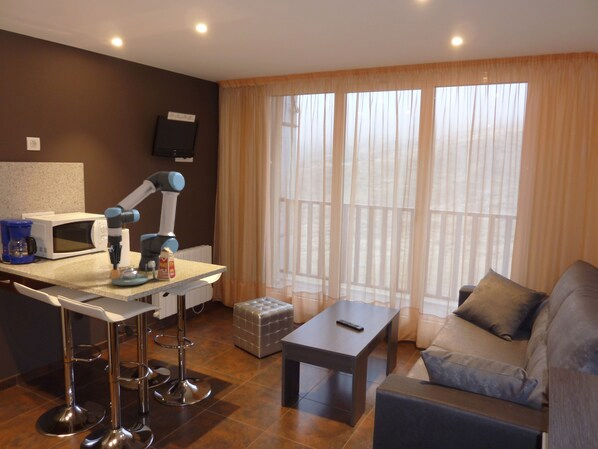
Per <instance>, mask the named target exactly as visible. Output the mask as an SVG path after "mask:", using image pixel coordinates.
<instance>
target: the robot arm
mask: <svg viewBox="0 0 598 449" xmlns="http://www.w3.org/2000/svg"><path fill="white" fill-rule="evenodd" d="M184 187H185V178H184V176H183V175H182V174H181V173H180V172H177V171H164V170H163V171H158V172H155V173H153V174H152V175H150V176H148V177H147V178H146V179H145V180H143V183H142V184H141V185H140V186H138V187H137V188H136V189H135V190H133V191H132V192H131V193H129V195H127V196H126V197H125V198H124V199H122V200H121V201H120V202H118V203H117V204H116V205H115V206H114V207H108V208H107V209H105V211H104V214H103V215H104V218H105V219H106V223H107V224H106V225H107V229H106V230H107V242H108V243H109V244H110V245H109V248H108V249H107V252H108V256H109V261H110V264H111V265H112V266H113V268H112V270H119V271H120V269H119V264H121V261H122V260H121V259H122V249H123V245H122V244H121V242H122V241H123V235H122V234H123V230H122V229H123V227H122V225H123V224H130V223H132V224H133V223H136V222H138V221H139V220H140V213H139V211H138V210H137V209H133V208H135V207H136V206H137V205H138V204H140V203H141V202H142V201H143V200H144V199H145V198H147V197H148V196H150V195H151V194H154V193H155V192H156V191H159V190H161V191H160V192H161V193H162V204H161V214H160V225H159V230H158V232H157V233H149V234H141V236H140V241H139V242H140V260H139V263H138V266H137V267H138V270H139V271H142V272H146V269H147V272H153V268H152V269H151V268H149V267H148V262H150V261H155V264H156V266H155V271H158V267H159V261H160V255H161V251H162V250H163V249H164V247H166V248H168V247H169V249H170V250H171V251H172V252H173V255H175V254H176V253H177V251H178V248H179V242H178V240H177V239H176V235H175V233H174V229H175V228H174V227H175V220H176V209H177V208H176V207H177V200H178V199H177V197H178V196H179V195H180V192H181V191H182V190H183V189H184Z"/></svg>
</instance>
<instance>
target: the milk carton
mask: <svg viewBox="0 0 598 449" xmlns="http://www.w3.org/2000/svg"><path fill="white" fill-rule="evenodd" d="M159 257H160V261H159V267H158V270H157V274H156V278H157V279H159V280H158V281H167V282H168V281H169V282H171V281H173V280H174V279H176V278H177V270H176V264H175V257H174V254H173V252H172V251H171V250H170V249H169V247H168V248H166V247H164V249H163V250H162V251H161V255H159Z"/></svg>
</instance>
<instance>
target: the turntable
mask: <svg viewBox="0 0 598 449" xmlns="http://www.w3.org/2000/svg"><path fill="white" fill-rule="evenodd" d="M110 271H111V273H110V274H111V283H112V284H114V285H118V286H127V285H129V286H135V284H136V285H140V284H144V283H147V282H148V281H149V276H148V275H146V274H140V273H137V278H136V279H132V280H125V279H123V274H120V269H119V270H113V269H111V270H110Z"/></svg>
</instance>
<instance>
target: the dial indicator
mask: <svg viewBox="0 0 598 449" xmlns="http://www.w3.org/2000/svg"><path fill="white" fill-rule="evenodd" d="M155 266H156V264H155V261H150V262H148V267H149V268H151V269H152V268H153V271H152V278H150V279H148V281H149V282H150V283H151V282H153V283H156V282H158V281H160V280H159V279H157V277H156V270H155ZM147 272H148V271H147V269H146V271H145V275H146V276H148V274H147Z"/></svg>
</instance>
